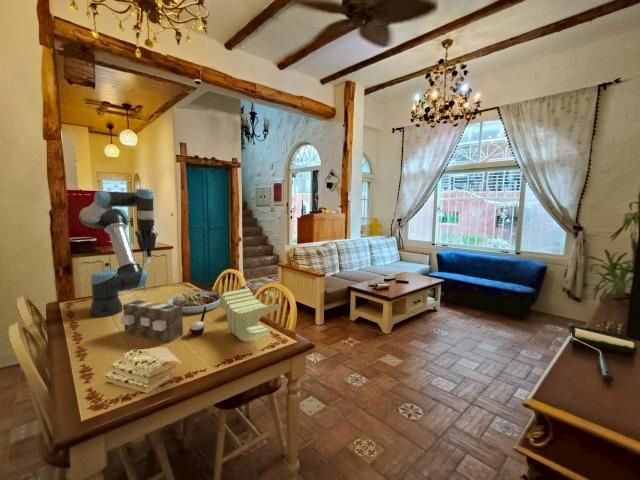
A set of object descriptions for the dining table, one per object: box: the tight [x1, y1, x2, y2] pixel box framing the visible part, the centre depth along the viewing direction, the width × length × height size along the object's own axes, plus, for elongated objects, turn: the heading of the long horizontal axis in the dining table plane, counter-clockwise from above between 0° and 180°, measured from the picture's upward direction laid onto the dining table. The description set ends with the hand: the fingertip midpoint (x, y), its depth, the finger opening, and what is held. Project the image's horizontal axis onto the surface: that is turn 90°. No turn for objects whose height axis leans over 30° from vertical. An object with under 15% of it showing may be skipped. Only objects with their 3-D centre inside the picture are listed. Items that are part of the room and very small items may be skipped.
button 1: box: [120, 314, 135, 325], centre depth 137 cm, size 4×3×3 cm
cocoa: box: [187, 307, 207, 337], centre depth 141 cm, size 10×6×12 cm, turn 125°
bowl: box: [166, 290, 222, 315], centre depth 179 cm, size 30×30×8 cm
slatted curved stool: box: [219, 287, 281, 342], centre depth 143 cm, size 30×16×18 cm, turn 41°
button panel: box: [122, 299, 184, 343], centre depth 139 cm, size 26×8×15 cm, turn 74°
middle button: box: [140, 317, 151, 326], centre depth 136 cm, size 4×3×3 cm
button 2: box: [153, 320, 167, 331], centre depth 132 cm, size 4×3×3 cm
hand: (147, 262), depth 159 cm, fingers closed
